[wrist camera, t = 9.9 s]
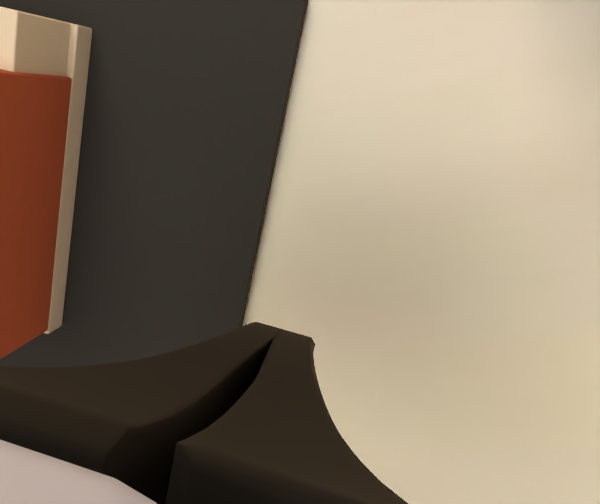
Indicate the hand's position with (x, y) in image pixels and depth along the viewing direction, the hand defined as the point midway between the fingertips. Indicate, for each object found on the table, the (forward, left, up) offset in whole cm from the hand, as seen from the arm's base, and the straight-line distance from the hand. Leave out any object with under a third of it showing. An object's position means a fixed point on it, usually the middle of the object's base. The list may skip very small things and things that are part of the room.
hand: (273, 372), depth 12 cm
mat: (0, +11, -10) cm, 15 cm away
